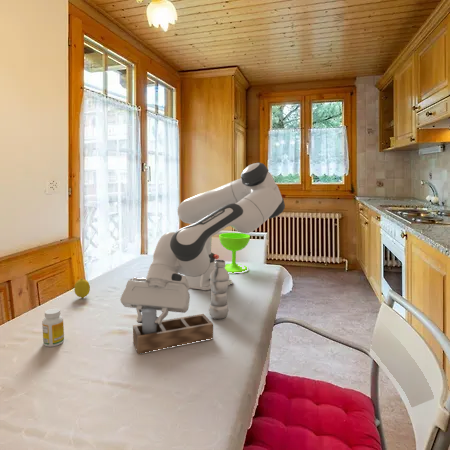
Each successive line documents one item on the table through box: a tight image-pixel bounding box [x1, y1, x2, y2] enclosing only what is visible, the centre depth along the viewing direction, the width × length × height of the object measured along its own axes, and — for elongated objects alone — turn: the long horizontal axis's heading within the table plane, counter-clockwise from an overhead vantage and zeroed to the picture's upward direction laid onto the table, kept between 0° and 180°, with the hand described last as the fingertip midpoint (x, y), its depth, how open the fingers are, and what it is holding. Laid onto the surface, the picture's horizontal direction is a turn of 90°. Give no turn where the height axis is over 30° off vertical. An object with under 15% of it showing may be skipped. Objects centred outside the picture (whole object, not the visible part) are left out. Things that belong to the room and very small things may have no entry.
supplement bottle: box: [41, 307, 65, 348], centre depth 97 cm, size 5×5×10 cm
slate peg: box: [141, 308, 158, 335], centre depth 96 cm, size 4×4×8 cm
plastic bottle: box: [208, 259, 230, 320], centre depth 116 cm, size 6×7×20 cm
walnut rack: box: [132, 313, 214, 355], centre depth 100 cm, size 22×8×5 cm, turn 115°
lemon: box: [73, 277, 91, 299], centre depth 131 cm, size 6×6×8 cm
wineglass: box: [218, 232, 251, 273], centre depth 175 cm, size 16×16×18 cm
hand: (148, 323), depth 96 cm, fingers closed on slate peg, 4 cm apart
